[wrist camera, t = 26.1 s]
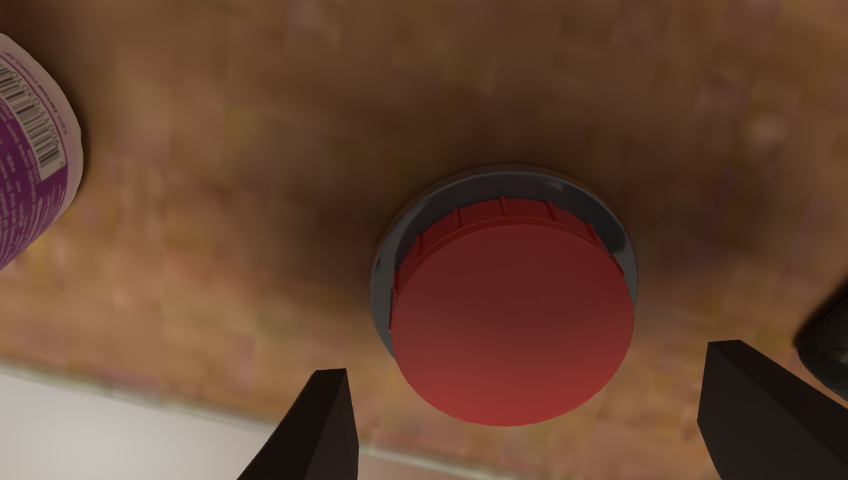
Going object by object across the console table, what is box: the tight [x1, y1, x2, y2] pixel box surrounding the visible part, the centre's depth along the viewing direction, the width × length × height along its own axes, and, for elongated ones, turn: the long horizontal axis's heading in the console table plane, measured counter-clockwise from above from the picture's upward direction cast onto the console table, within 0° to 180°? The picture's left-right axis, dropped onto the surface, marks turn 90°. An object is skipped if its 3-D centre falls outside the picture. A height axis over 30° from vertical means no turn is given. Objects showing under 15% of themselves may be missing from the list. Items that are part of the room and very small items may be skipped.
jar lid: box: [389, 196, 634, 427], centre depth 16 cm, size 6×6×2 cm
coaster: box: [369, 163, 639, 360], centre depth 17 cm, size 7×7×1 cm
